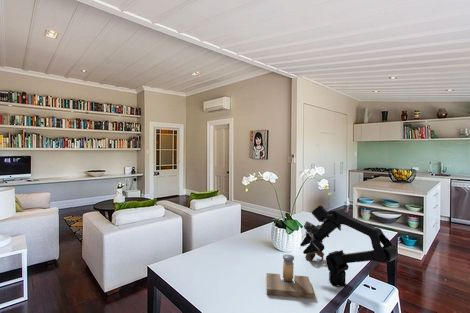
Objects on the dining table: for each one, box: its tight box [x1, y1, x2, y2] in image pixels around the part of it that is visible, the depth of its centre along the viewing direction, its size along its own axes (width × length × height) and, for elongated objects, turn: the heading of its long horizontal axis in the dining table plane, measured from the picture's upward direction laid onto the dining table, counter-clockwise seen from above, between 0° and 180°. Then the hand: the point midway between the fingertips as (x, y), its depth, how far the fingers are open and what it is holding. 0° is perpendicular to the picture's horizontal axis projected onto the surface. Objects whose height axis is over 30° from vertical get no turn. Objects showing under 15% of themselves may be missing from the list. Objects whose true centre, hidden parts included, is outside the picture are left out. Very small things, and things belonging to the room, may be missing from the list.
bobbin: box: [281, 253, 295, 283], centre depth 117 cm, size 6×6×13 cm
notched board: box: [265, 272, 315, 300], centre depth 114 cm, size 20×14×2 cm
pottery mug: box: [304, 251, 325, 263], centre depth 143 cm, size 12×10×8 cm
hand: (302, 249), depth 125 cm, fingers open, 9 cm apart
